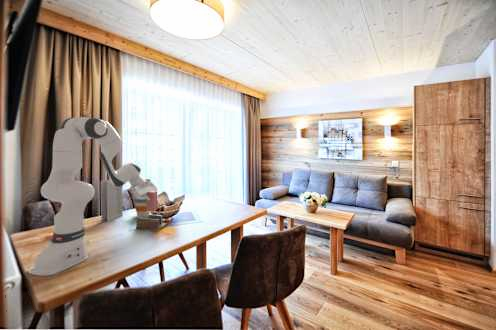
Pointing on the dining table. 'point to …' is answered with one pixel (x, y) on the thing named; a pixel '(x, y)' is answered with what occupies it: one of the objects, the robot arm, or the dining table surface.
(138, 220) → the shelf
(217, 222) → the dining table surface
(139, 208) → the reusable coffee cup
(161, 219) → the bookend
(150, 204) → the book
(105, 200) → the tall upright panel
